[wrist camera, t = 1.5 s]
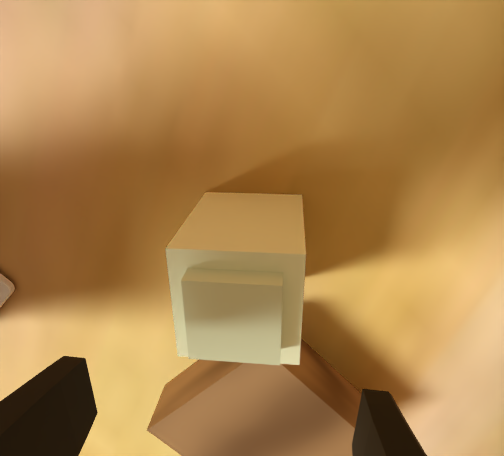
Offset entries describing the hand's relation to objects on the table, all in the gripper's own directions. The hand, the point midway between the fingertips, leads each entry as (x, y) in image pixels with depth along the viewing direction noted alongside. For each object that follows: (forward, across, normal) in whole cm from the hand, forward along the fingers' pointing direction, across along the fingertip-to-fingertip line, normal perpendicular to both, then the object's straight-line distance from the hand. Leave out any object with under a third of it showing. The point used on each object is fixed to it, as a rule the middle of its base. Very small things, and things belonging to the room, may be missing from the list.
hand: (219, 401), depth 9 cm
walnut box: (+10, -1, +10) cm, 14 cm away
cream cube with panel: (+10, 0, 0) cm, 10 cm away
